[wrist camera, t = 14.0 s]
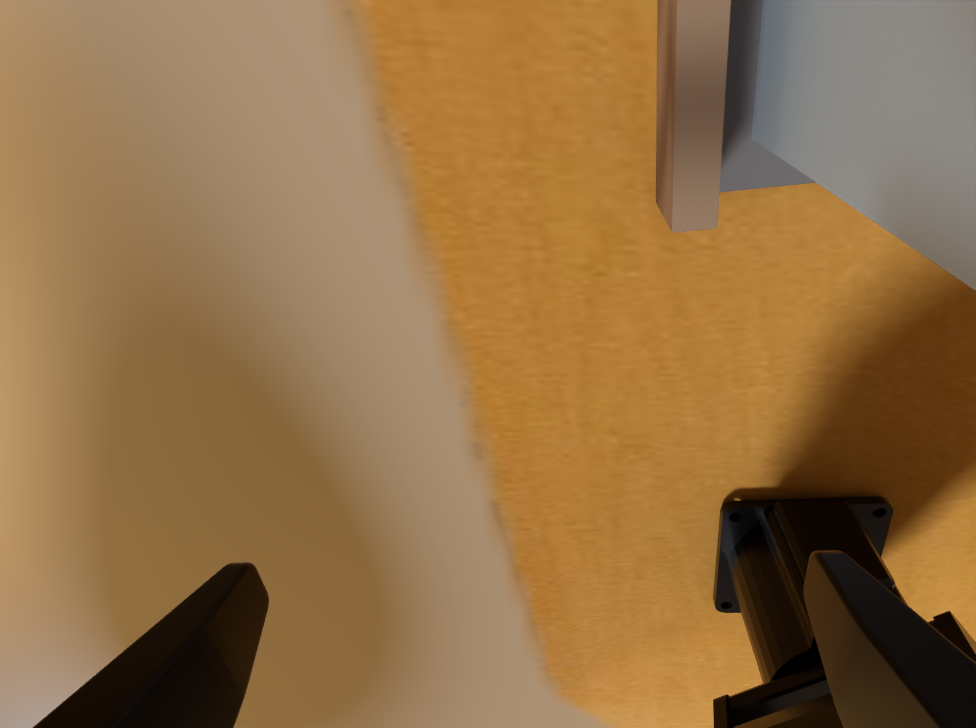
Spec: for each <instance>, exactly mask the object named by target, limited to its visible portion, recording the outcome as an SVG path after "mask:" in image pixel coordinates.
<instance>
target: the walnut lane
mask: <svg viewBox="0 0 976 728" xmlns="http://www.w3.org/2000/svg"><path fill="white" fill-rule="evenodd" d="M762 8H763V0H658V37H657V152H656V203H657V205H658V207H659V209H660V211H661V213H662V214H663V216H664V218H665V220H666V222H667V224H668V226H669V228H670V230H671V232H672V233H673V232H684V231H695V230H705V229H716V228H717V222H718V206H719V192H727V191H737V190H746V189H756V188H766V187H776V186H786V185H796V184H805V183H815V181H813V180H812V179H810V178H809V177H807V176H806V175H805V174H803V173H802V172H800V171H799V170H797V169H796V168H794V167H793V166H791V165H790V164H788V163H787V162H785V161H784V160H782V159H781V158H780V157H778V156H777V155H775V154H774V153H772V152H771V151H769V150H768V149H766V148H765V147H763V146H762V145H760V144H759V143H757V142H756V141H755V140H753V139H752V127H753V115H754V103H755V91H756V79H757V67H758V56H759V44H760V32H761V20H762Z"/></svg>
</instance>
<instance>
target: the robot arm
mask: <svg viewBox="0 0 976 728" xmlns="http://www.w3.org/2000/svg"><path fill="white" fill-rule="evenodd" d="M879 508H880V509H879ZM876 509H878V510H876ZM732 513H736V514H734V515H731V514H732ZM892 515H893V508H892V507H891V505H890V504H889V502H888V501H887V500H886V499H885V498H883V497H848V498H817V499H786V500H756V501H732V502H728V503H726V504H724V505H723V506H722V507H721V510H720V521H719V533H718V545H717V557H716V569H715V581H714V593H713V600H714V604H715V608H716V609H717V610H718V611H720V612H724V613H742V616H743V620H744V623H745V626H746V629H747V632H748V636H749V639H750V642H751V645H752V648H753V652H754V655H755V658H756V661H757V664H758V668H759V671H760V674H761V677H762V681H763V684H761V685H759V686H756V687H753V688H751V689H748V690H745V691H743V692H740V693H737V694H735V695H732V696H729V695H724V696H721V697H719V698H716V699H714V700H713V707H714V728H976V642H975V641H974V640H973V638H972V637H971V636H970V635H969V633H968V632H967V631H966V630H965V629H964V627H963V626H962V625H961V624H960V622H959V621H958V620H957V619H956V618H955V616H954V615H953V614H952V613H951V612H950V611H948V612H945V613H942V614H940V615H937V616H934V617H933V618H934V620H933V621H930V622H927V621H925V620H924V619H923V618H922V617H921V616H919V615H918V614H917V613H916V612H915V611H913V610H912V609H911V608H910V607H909V606H908V605H907V603H906V602H905V600H904V598H903V597H902V595H901V593H900V592H899V590H898V588H897V586H896V585H895V582H894V579H893V577H892V576H891V574H890V572H889V571H888V569H887V567H886V565H885V564H884V562H883V560H882V559H881V555H882V551H883V547H884V544H885V540H886V536H887V533H888V529H889V525H890V522H891V518H892ZM268 604H269V597H268V593H267V590H266V588H265V586H264V584H263V582H262V580H261V577H260V575H259V573H258V571H257V569H256V567H255V566H254V565H253V564H252V563H248V562H247V563H230V564H228V565H226V566H224V567H223V568H222V569H221V570H219V571H218V572H217V573H216V574H215V575H214V576H212V577H211V578H210V579H209V580H208V581H206V582H205V583H204V584H203V585H202V586H200V587H199V588H198V589H197V590H196V591H195V592H193V593H192V594H191V595H190V596H189V597H187V598H186V599H185V600H184V601H183V602H181V603H180V604H179V605H178V606H177V607H175V609H173V610H172V611H171V612H170V613H168V614H167V615H166V616H165V617H164V618H162V619H161V620H160V621H159V622H158V623H157V624H155V625H154V626H153V627H152V628H151V629H149V630H148V631H147V632H146V633H145V634H144V635H142V636H141V637H140V638H139V639H138V640H136V641H135V642H134V643H133V644H132V645H130V646H129V647H128V648H127V649H126V650H124V651H123V652H122V653H121V654H120V655H118V656H117V657H116V658H115V659H114V660H113V661H111V662H110V663H109V664H108V665H107V666H106V667H104V668H103V669H102V670H101V671H99V672H98V673H97V674H96V675H95V676H94V677H92V678H91V679H90V680H89V681H88V682H86V683H85V684H84V685H83V686H82V687H80V688H79V689H78V690H77V691H76V692H75V693H73V694H72V695H71V696H70V697H69V698H67V699H66V700H65V701H64V702H63V703H61V704H60V705H59V706H58V707H57V708H56V709H54V710H53V711H52V712H51V713H50V714H48V715H47V716H46V717H45V718H44V719H42V720H41V721H40V722H39V723H38V724H37V725H35V726H34V727H33V728H233V727H234V724H235V722H236V719H237V717H238V714H239V711H240V708H241V705H242V703H243V700H244V697H245V693H246V690H247V686H248V683H249V679H250V675H251V672H252V668H253V664H254V660H255V656H256V653H257V649H258V645H259V641H260V637H261V634H262V629H263V626H264V622H265V618H266V614H267V610H268Z"/></svg>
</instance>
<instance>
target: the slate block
mask: <svg viewBox="0 0 976 728" xmlns="http://www.w3.org/2000/svg"><path fill="white" fill-rule="evenodd" d="M752 139H753V140H755V141H756V142H757V143H759V144H760V145H762V146H763V147H765V148H766V149H768V150H769V151H771V152H772V153H774V154H775V155H777V156H778V157H780V158H781V159H782V160H784V161H785V162H787V163H788V164H790V165H791V166H793V167H794V168H796V169H797V170H799V171H800V172H802V173H803V174H805V175H806V176H807V177H809V178H810V179H812V180H813V181H815V182H816V183H818V184H819V185H821V186H822V187H824V188H825V189H827V190H828V191H830V192H831V193H832V194H834V195H835V196H837V197H838V198H840V199H841V200H843V201H844V202H846V203H847V204H849V205H850V206H852V207H853V208H854V209H856V210H857V211H859V212H860V213H862V214H863V215H865V216H866V217H868V218H869V219H871V220H872V221H874V222H875V223H877V224H878V225H879V226H881V227H882V228H884V229H885V230H887V231H888V232H890V233H891V234H893V235H894V236H896V237H897V238H899V239H900V240H902V241H903V242H904V243H906V244H907V245H909V246H910V247H912V248H913V249H915V250H916V251H918V252H919V253H921V254H922V255H924V256H925V257H927V258H928V259H929V260H931V261H932V262H934V263H935V264H937V265H938V266H940V267H941V268H943V269H944V270H946V271H947V272H949V273H950V274H951V275H953V276H954V277H956V278H957V279H959V280H960V281H962V282H963V283H965V284H966V285H968V286H969V287H971V288H972V289H974V290H975V291H976V0H763V8H762V20H761V32H760V44H759V56H758V67H757V79H756V91H755V103H754V115H753V127H752Z"/></svg>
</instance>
